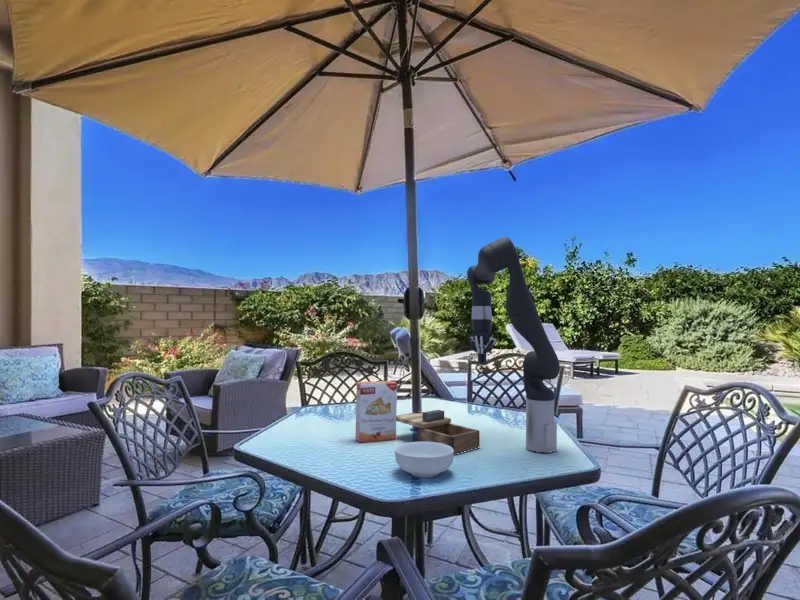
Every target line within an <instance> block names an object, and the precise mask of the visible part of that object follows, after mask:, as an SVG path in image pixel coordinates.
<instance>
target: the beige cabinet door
mask: <svg viewBox="0 0 800 600" xmlns="http://www.w3.org/2000/svg"><path fill="white" fill-rule="evenodd" d="M396 422H398V423H402V424H405V425H409V426H413V427H417V428H428V427H433V426H438V425H442V424H447V423H451V424H452V418H450V417H448V416H447V417H446V416H445V410H440V409H436V410H430V411H421V413H414V412H409V413H403V414H399V415H397V414H396Z"/></svg>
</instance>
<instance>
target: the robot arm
mask: <svg viewBox="0 0 800 600" xmlns="http://www.w3.org/2000/svg"><path fill="white" fill-rule="evenodd" d="M477 255H478V256H477V264H476V265H471V266H469V267H468V269H467V271H466V276H467V280H468V283H469V286H470V291H471V298H472V299H471V302H472V303H471V305H472V306H471V330H472V334H471V336H470V337H469V338H467V340H466V341H467V342H468V344H469V346H470V347H471V349H472V350H473V352H475V353H477V361H478V364H480V365H484V364H486V363H487V353H491V352H492V350H493V349H494V347H495V346H496V345H497V343H498V340H497V339H495V338H494V337H493V334H492V330H493V326H492V325H493V321H492V317H493V316H492V302H491V301H492V297H491V295H492V293H491V292H490V291H489V290H485V289H481V288H479V287H478V285H491V284H493V283H494V282H495V279H496V273H498V272H500V271H502V270H505V269H506V268H508V275H509V283H508V289H507V293H506V298H505V310H506V314H507V316H508V318H509V321H510V324H511V325H512V327H513V328H514V330H515V331H516V332H517V333H518V334H519V335H520V336H521V337H522V338H523V339H524V340H526V342H528V344H529V345H530V346H531V348H532V349H533V350H531V351H528V352H526V354H525V356H524V357H523V358H524V359H523V363H522V368H523V369H522V371H523V372H522V373H523V376H522V377H523V389H524V392H525V449H526V448H527V449H529V450H528V451H530V450H532V451H531V452H533V451H536V452H535V453H539V452H546V453H548V452H550V451H553V450H556V449H558V448H557V446H558V441H557V440H558V438H557V437H558V436H557V435H558V434H557V431H558V429H557V428H558V425H557V424H558V422H557V421H555V392H554V390H553V389H551V388H549V386H547V385H546V384H545V382H543V381H544V380H548V381H549V380H550V381H551V380H554V379H556V378H557V377H558V376H559V375H560V370H561V369H560V367H561V366H560V365H561V364H560V360H559V357H558V355H557V353H556V351H555V349H554V347H553V345H552V343H551V341H550V340H549V337H548V335H547V332H546V330H545V328H544V326H543V323H542V321H541V318H540V316H539V315H540V314H539V312H538V309H537V306H536V304H535V302H534V299H533V297H532V295H531V292H530V289H529V287H528V285H527V282H526V279H525V275H524V272H523V268H522V264H521V261H520V258H519V255H518V251H517V250H516V247H515V245H514V242H513V241H512V240H511V239H510V238H509V237H508V236H502V237H500V238H498V239H496V240H494V241H492V242H490V243H488V244H486V245H484V246H482V247H481V248H480V249H479V251H478V254H477ZM527 449H526V450H527ZM556 451H557V450H556ZM553 452H554V451H553ZM546 453H545V454H546ZM550 453H551V452H550ZM548 454H549V453H548Z"/></svg>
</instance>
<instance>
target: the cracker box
mask: <svg viewBox="0 0 800 600" xmlns="http://www.w3.org/2000/svg"><path fill="white" fill-rule="evenodd" d="M397 395H398V383H397V382H395V381H393V380H382V381H378V380H377V381H357V382H356V395H355V396H356V397H355V398H356V399H355V400H356V401H355V404H356V405H355V406H356V407H355V439H356V441H358V443H370V442H372V443H373V442H384V441H396V440H397V439H396V438H397V421H396V416H397V406H398V405H397V404H398V400H397V399H398V397H397Z"/></svg>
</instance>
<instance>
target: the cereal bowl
mask: <svg viewBox="0 0 800 600" xmlns="http://www.w3.org/2000/svg"><path fill="white" fill-rule="evenodd" d="M394 457H395V461H396V463H397V465H398V466H399V468H400V469H401V470H403V471H405V472H406V473H409V474H410V475H412V476H414V477H417V478H427V479H428V478H433V477H436V476H438V475H439V474H440V473H443V472H445V471H447V470H448V469H449V468H450V467H451V465H452V463H453V460H454V457H455V455H454V450H453V448H452V447H450V446H448V445H445V444H442V443H436V442H418V441H412V442H406V443H402V444H400V445H397V446H396V447H395V449H394Z"/></svg>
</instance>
